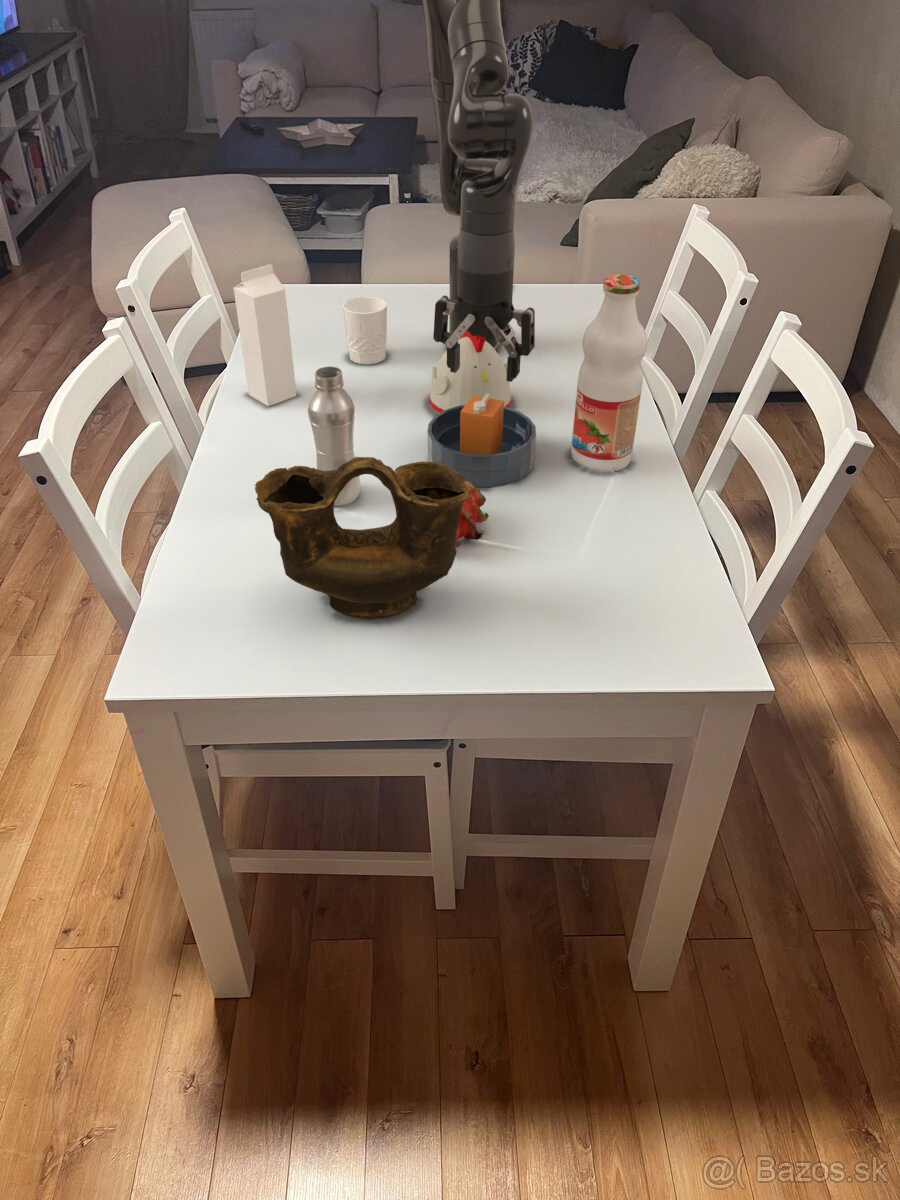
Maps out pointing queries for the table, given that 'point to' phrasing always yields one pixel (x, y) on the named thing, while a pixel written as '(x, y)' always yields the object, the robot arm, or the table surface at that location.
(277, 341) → the milk
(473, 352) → the kitchen timer
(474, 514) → the dragon fruit
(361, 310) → the white cup
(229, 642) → the table surface
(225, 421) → the table surface
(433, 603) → the table surface
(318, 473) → the pottery vessel
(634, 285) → the fruit juice
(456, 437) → the bowl
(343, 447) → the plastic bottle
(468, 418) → the carton
